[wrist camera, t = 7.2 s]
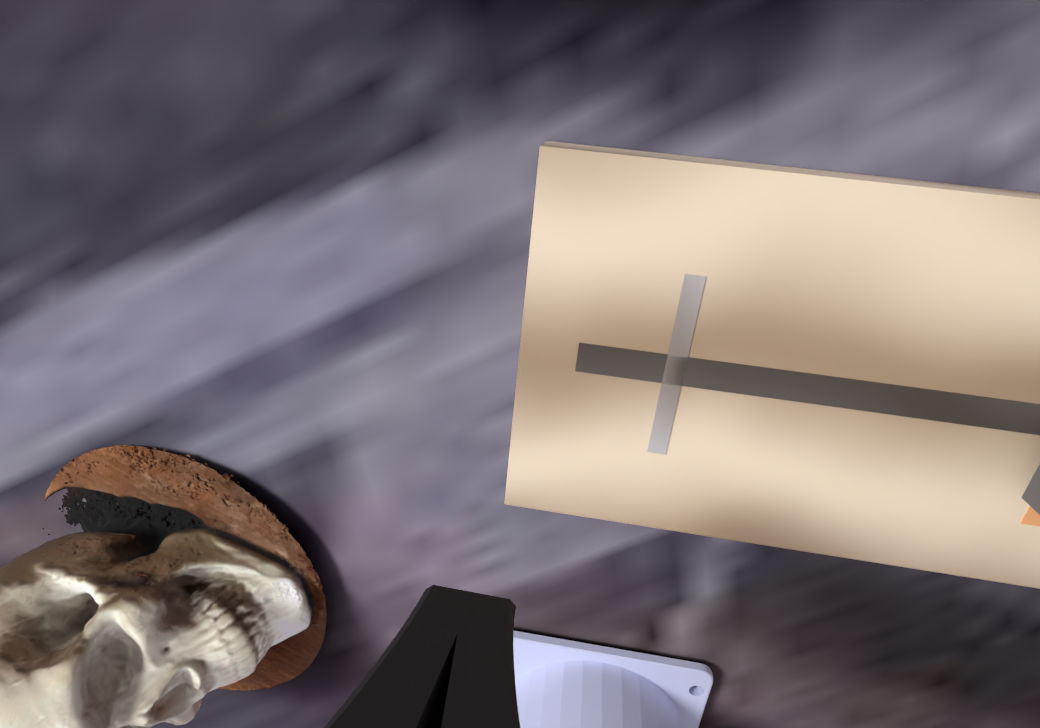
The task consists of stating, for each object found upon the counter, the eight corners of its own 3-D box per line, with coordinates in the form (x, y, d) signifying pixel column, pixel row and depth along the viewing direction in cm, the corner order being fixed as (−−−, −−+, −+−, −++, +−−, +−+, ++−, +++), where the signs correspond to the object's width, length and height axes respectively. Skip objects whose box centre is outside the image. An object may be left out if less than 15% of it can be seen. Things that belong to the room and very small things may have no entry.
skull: (314, 460, 19) (204, 853, 15) (381, 513, 29) (324, 762, 24) (-38, 411, 20) (-236, 778, 16) (142, 479, 29) (49, 718, 25)
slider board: (1173, 566, 18) (1240, 620, 16) (513, 466, 19) (504, 504, 17) (1413, 233, 14) (1541, 253, 12) (547, 141, 15) (539, 146, 13)
